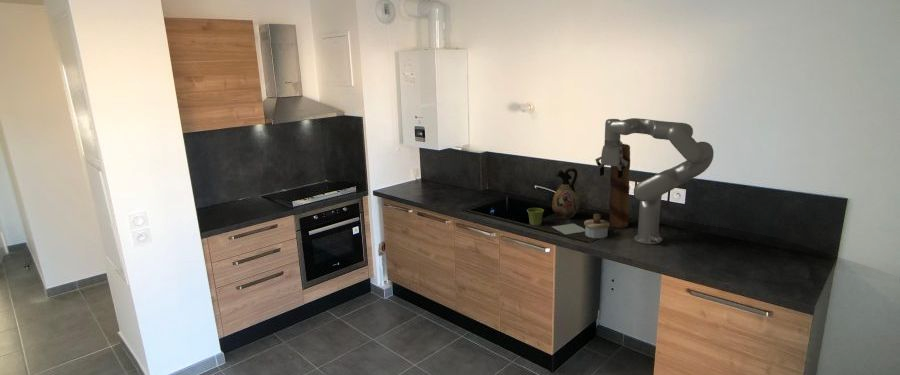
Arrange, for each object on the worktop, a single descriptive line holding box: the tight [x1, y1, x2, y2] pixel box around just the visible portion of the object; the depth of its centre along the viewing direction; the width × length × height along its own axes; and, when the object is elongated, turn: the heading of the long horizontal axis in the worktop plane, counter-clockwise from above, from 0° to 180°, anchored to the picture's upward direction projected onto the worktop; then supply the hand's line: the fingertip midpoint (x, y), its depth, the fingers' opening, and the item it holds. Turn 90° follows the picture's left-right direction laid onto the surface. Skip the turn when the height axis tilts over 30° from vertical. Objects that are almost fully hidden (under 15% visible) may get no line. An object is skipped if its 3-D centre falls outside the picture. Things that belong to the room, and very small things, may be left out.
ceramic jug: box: [551, 167, 580, 219], centre depth 288 cm, size 17×15×30 cm
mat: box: [552, 223, 585, 235], centre depth 268 cm, size 14×14×1 cm
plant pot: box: [526, 207, 545, 226], centre depth 279 cm, size 9×9×9 cm
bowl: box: [584, 225, 609, 239], centre depth 257 cm, size 11×11×6 cm
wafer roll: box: [608, 143, 631, 229], centre depth 269 cm, size 10×11×45 cm
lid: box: [583, 213, 610, 229], centre depth 256 cm, size 12×12×6 cm
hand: (610, 176), depth 256 cm, fingers open, 9 cm apart
